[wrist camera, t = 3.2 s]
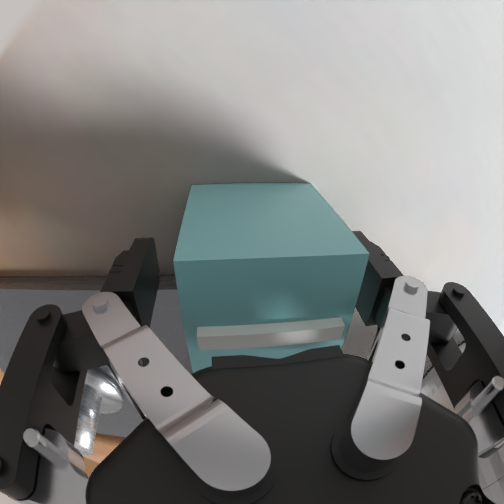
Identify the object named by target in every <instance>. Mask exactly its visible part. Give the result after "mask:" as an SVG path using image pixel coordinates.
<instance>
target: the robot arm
mask: <svg viewBox="0 0 504 504" xmlns="http://www.w3.org/2000/svg"><path fill="white" fill-rule="evenodd" d="M352 232H353V233H354V235H355V236H356V237H357V238H358V240H359V241H360V242H361V243H362V245H363V246H364V247H365V248H366V250H367V251H368V252H369V253H370V254H369V258H368V262H367V266H366V270H365V273H364V277H363V281H362V284H361V288H360V292H359V295H358V299H357V302H356V305H355V307H356V309H357V310H358V312H359V314H360V316H361V318H362V320H363V322H364V323H365V325H366V326H370V325H376V324H377V326H378V328H377V331H376V333H375V336H374V339H373V342H372V345H371V348H370V351H369V354H368V356H367V359H364V358H361V357H358V356H354V355H349V354H343V353H342V350H341V348H340V345H335V346H328V347H320V348H312V349H308V350H305V351H302V352H299V353H296V354H293V355H290V356H287V357H284V358H281V359H275V358H266V357H257V356H249V355H234V356H213V357H212V366H210V367H206V368H204V369H201V370H198V371H196V372H194V373H192V374H190V373H189V372H188V371H187V370H186V369H185V368H184V367H183V366H182V365H181V364H180V362H179V361H178V360H177V359H176V358H175V357H174V356H173V355H172V354H171V352H170V351H169V350H168V349H167V348H166V347H165V346H164V344H163V343H162V342H161V341H160V340H159V339H158V337H157V336H156V335H155V334H154V333H153V331H152V330H151V329H150V325H151V320H152V315H153V310H154V305H155V300H156V296H157V291H158V287H159V267H158V261H157V255H156V249H155V243H154V239H153V238H136V239H135V240H134V242H133V244H132V246H131V248H130V250H128V251H123V252H122V253H121V254H120V255H118V256H117V257H116V259H115V261H114V263H113V265H112V267H111V269H110V271H109V273H108V276H107V278H106V280H105V282H104V284H103V287H102V289H101V291H100V293H97V294H94V295H92V296H91V297H89V298H88V299H87V300H86V301H85V302H84V304H83V306H82V310H80V311H76V312H72V313H68V314H62V312H61V309H60V308H59V307H58V306H57V305H54V304H47V305H44V306H41V307H39V308H37V309H36V310H35V311H34V312H33V313H32V314H31V315H30V317H29V319H28V321H27V323H26V325H25V327H24V329H23V331H22V334H21V336H20V338H19V340H18V342H17V345H16V347H15V349H14V352H13V354H12V357H11V359H10V361H9V364H8V366H7V369H6V372H5V374H4V377H3V380H2V382H1V385H0V492H2V493H4V494H6V495H7V496H8V497H10V498H11V499H13V500H15V501H17V502H19V503H21V504H504V336H503V335H502V333H501V332H500V331H499V329H498V328H497V326H496V325H495V324H494V322H493V321H492V320H491V318H490V317H489V316H488V314H487V313H486V312H485V310H484V309H483V308H482V307H481V305H480V304H479V303H478V302H477V300H476V299H475V298H474V297H473V295H472V294H471V293H470V292H469V291H468V290H467V289H466V288H465V287H464V286H462V285H460V284H458V283H454V282H449V283H446V284H445V285H444V287H443V289H442V292H441V293H440V292H432V291H427V288H426V286H425V285H424V284H423V283H422V282H421V281H420V280H418V279H416V278H414V277H410V276H403V274H402V273H401V272H400V271H399V269H398V268H397V267H396V266H395V265H394V263H393V262H392V261H390V259H389V257H388V256H387V255H386V254H385V253H384V252H383V250H382V249H381V248H380V247H379V246H377V245H375V244H374V243H372V242H369V240H368V239H367V238H366V237H365V236H364V235H363V233H362V232H361V231H352ZM457 328H458V329H459V331H460V332H461V334H462V335H463V337H464V339H465V343H463V344H462V345H460V346H459V347H458V345H457V344H456V342H455V341H454V339H453V337H452V336H453V335H454V333H455V331H456V329H457ZM426 354H427V355H428V357H429V359H430V361H431V363H432V365H433V368H432V369H431V370H430V371H429V372H428V374H427V375H426V376H425V378H424V379H423V373H424V367H425V361H426ZM106 365H107V366H108V368H109V369H110V371H111V373H112V374H113V376H114V378H115V379H116V381H117V382H118V384H119V386H120V387H121V389H122V390H123V392H124V393H125V395H126V396H127V398H128V400H129V401H130V403H131V404H132V406H133V407H134V409H135V410H136V412H137V413H138V415H139V416H140V418H141V419H142V422H141V423H140V424H139V425H138V426H137V427H136V428H135V429H134V430H133V431H132V432H131V433H130V434H129V435H128V436H127V437H126V438H125V439H124V440H123V441H122V442H121V443H120V444H119V445H118V446H117V447H116V448H115V449H114V450H113V451H112V452H111V453H110V454H109V455H108V456H107V457H106V458H105V459H104V460H103V461H102V462H101V463H100V464H99V465H98V466H97V467H96V468H95V469H94V471H93V472H92V473H91V475H90V477H89V478H88V476H87V474H86V471H85V462H84V458H83V456H82V454H81V453H80V452H79V450H78V449H76V448H75V447H74V444H75V436H76V429H77V423H78V417H79V411H80V405H81V400H82V394H83V389H84V384H85V380H86V375H87V370H88V369H92V368H97V367H101V366H106ZM422 379H423V381H422Z"/></svg>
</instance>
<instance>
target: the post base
mask: <svg viewBox="0 0 504 504" xmlns="http://www.w3.org/2000/svg"><path fill="white" fill-rule="evenodd" d="M106 278H107V276H100V277H0V368H1V370H2V371H3V372H4V374H5V372H6V369H7V366H8V364H9V361H10V359H11V357H12V354H13V352H14V349H15V347H16V345H17V342H18V340H19V338H20V336H21V334H22V331H23V329H24V327H25V325H26V323H27V321H28V319H29V317H30V315H31V314H32V313H33V312H34V311H35V310H36V309H37V308H39V307H41V306H44V305H47V304H54V305H57V306H58V307H59V308H60V309H61V312H62V314H68V313H72V312H76V311H80V310H82V306H83V304H84V302H85V301H86V300H87V299H88V298H89V297H91V296H92V295H94V294H97V293H100V291H101V289H102V287H103V284H104V282H105V280H106ZM150 329H151V330H152V331H153V333H154V334H155V335H156V336H157V337H158V339H159V340H160V341H161V342H162V343H163V344H164V346H165V347H166V348H167V349H168V350H169V351H170V352H171V354H172V355H173V356H174V357H175V358H176V359H177V360H178V361H179V362H180V364H181V365H182V366H183V367H184V368H185V369H186V370H187V371H188V372H189V373H190V374H192V373H193V371H192V366H191V362H190V357H189V352H188V347H187V342H186V337H185V331H184V326H183V320H182V315H181V309H180V303H179V297H178V291H177V284H176V278H175V275H159V287H158V291H157V296H156V300H155V305H154V310H153V315H152V320H151V325H150ZM141 422H142V419H141V418H140V416H139V415H138V413H137V412H136V410H135V409H134V407H133V406H132V404H131V403H130V401H129V400H128V398H127V396H126V395H125V393H124V392H123V390H122V389H121V387H120V386H119V384H118V382H117V381H116V379H115V378H114V376H113V374H112V373H111V371H110V369H109V368H108V366H107V365H106V366H101V367H97V368H92V369H88V370H87V375H86V380H85V384H84V389H83V394H82V400H81V405H80V411H79V417H78V423H77V429H76V436H75V444H74V447H75V448H76V449H78V450H79V452H80V453H81V454H82V455H92V453H93V447H94V441H95V435H96V433H98V434H104V435H112V436H119V437H127V436H128V435H129V434H130V433H131V432H132V431H133V430H134V429H135V428H136V427H137V426H138V425H139V424H140V423H141Z"/></svg>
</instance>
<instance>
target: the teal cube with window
mask: <svg viewBox="0 0 504 504" xmlns="http://www.w3.org/2000/svg"><path fill="white" fill-rule="evenodd" d="M369 254H370V253H369V252H368V251H367V250H366V248H365V247H364V246H363V245H362V243H361V242H360V241H359V240H358V238H357V237H356V236H355V235H354V233H353V232H352V231H351V230H350V229H349V227H348V226H347V225H346V224H345V223H344V221H343V220H342V219H341V218H340V217H339V215H338V214H337V213H336V212H335V211H334V210H333V208H332V207H331V206H330V205H329V204H328V203H327V201H326V200H325V199H324V198H323V197H322V196H321V195H320V193H319V192H318V191H317V190H316V189H315V188H314V187H313V186H312V184H309V183H236V184H203V185H191V189H190V193H189V197H188V200H187V204H186V208H185V212H184V216H183V220H182V225H181V229H180V233H179V237H178V242H177V246H176V250H175V255H174V259H173V264H174V271H175V278H176V284H177V291H178V297H179V303H180V309H181V315H182V320H183V326H184V331H185V337H186V342H187V347H188V352H189V357H190V362H191V366H192V371H193V373H194V372H196V371H198V370H201V369H204V368H206V367H210V366H212V357H213V356H234V355H249V356H257V357H266V358H275V359H281V358H284V357H287V356H290V355H293V354H296V353H299V352H302V351H305V350H308V349H312V348H320V347H328V346H335V345H340V348H341V349H342V346H343V343H344V340H345V337H346V334H347V331H348V328H349V325H350V322H351V318H352V315H353V312H354V309H355V305H356V302H357V299H358V295H359V292H360V288H361V284H362V281H363V277H364V273H365V270H366V266H367V262H368V258H369Z"/></svg>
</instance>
